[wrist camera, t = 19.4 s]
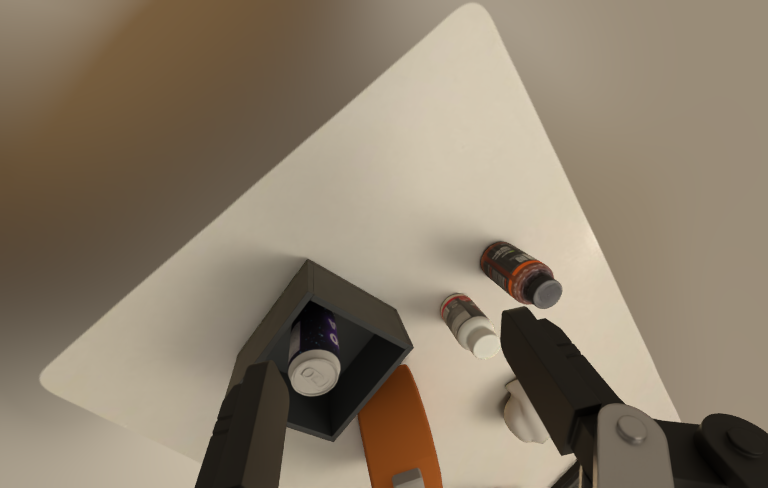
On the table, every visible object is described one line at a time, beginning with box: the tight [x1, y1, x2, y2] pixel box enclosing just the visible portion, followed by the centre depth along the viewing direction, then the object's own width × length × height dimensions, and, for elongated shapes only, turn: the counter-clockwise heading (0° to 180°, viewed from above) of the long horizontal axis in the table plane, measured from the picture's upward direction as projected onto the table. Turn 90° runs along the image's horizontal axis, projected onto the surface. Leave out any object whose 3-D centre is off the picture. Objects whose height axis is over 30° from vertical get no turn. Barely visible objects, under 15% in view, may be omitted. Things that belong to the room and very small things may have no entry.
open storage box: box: [225, 259, 414, 442], centre depth 42 cm, size 16×18×9 cm
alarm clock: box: [357, 365, 443, 488], centre depth 47 cm, size 23×9×17 cm, turn 8°
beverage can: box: [288, 301, 341, 396], centre depth 38 cm, size 6×6×12 cm
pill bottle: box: [441, 294, 501, 359], centre depth 45 cm, size 5×5×10 cm
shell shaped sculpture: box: [504, 379, 551, 444], centre depth 58 cm, size 13×13×6 cm
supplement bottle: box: [481, 242, 562, 309], centre depth 43 cm, size 6×6×11 cm
